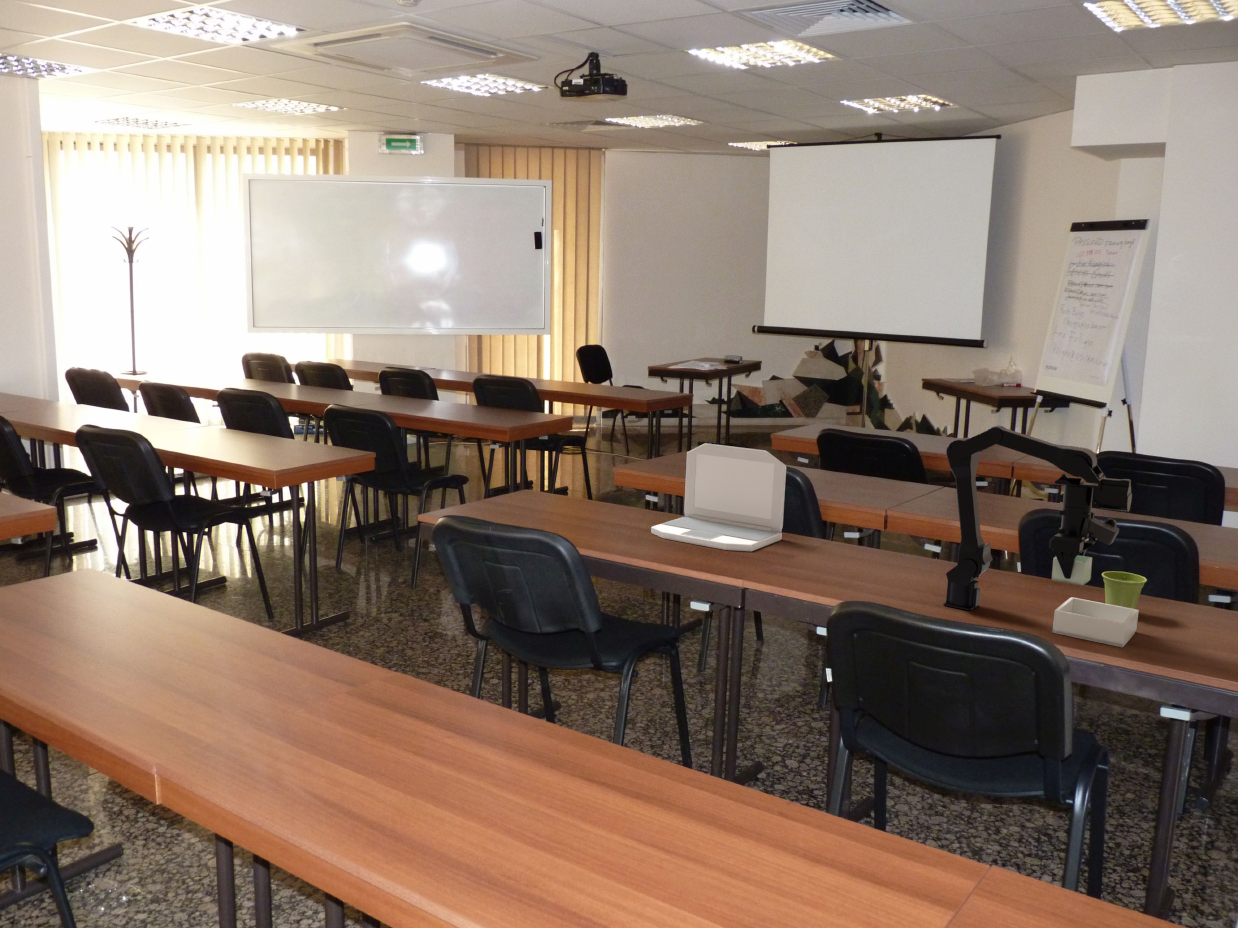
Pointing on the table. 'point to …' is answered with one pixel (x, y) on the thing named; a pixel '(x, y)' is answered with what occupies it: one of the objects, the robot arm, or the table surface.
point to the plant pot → (1122, 588)
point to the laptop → (730, 499)
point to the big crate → (1095, 621)
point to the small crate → (1074, 571)
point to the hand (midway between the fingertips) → (1071, 575)
